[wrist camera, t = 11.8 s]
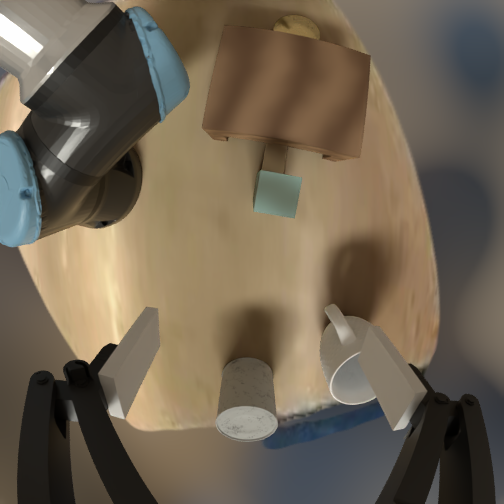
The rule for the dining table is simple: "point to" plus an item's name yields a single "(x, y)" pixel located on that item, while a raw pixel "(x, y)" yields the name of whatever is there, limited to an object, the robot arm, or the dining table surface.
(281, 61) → the wooden bench
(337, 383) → the mug
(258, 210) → the sweep tool
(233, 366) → the speckled white cylinder
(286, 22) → the token
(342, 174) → the dining table surface
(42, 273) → the dining table surface
